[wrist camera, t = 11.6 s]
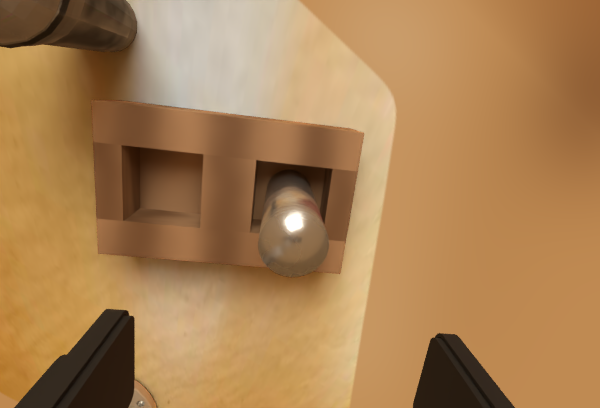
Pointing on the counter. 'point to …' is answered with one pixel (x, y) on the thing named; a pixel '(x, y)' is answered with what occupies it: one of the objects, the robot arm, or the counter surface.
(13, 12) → the beverage cup
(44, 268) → the counter surface
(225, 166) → the walnut block
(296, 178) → the steel pin
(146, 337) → the counter surface
